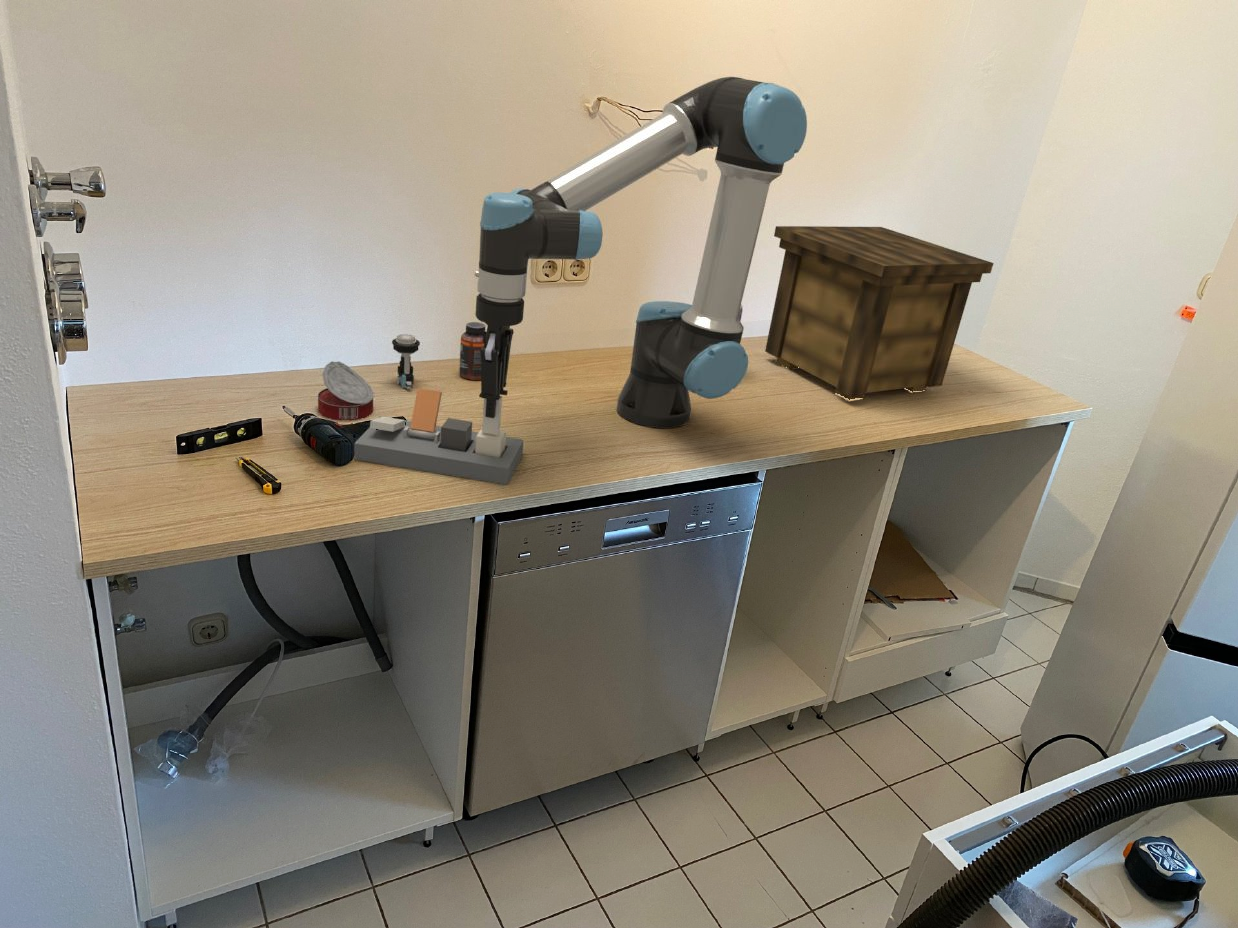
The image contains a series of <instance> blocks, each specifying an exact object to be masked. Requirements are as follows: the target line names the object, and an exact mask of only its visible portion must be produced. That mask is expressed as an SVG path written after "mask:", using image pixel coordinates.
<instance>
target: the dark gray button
mask: <svg viewBox="0 0 1238 928" xmlns="http://www.w3.org/2000/svg"><path fill="white" fill-rule="evenodd" d="M441 426H442V427H441V444H440V448H444V449H451V450H457V451H463V452H466V450H467V449H468V447H469V446H470V444H471V437H472V431H473V421H470V420H464V419H457V418H452V417H447V419H446V420H445V422H444V423H443V424H442V425H441Z"/></svg>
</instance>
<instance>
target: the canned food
mask: <svg viewBox="0 0 1238 928" xmlns="http://www.w3.org/2000/svg"><path fill="white" fill-rule="evenodd" d="M322 380H323V384H324V385H325V387H326V388H324V389H322V390H321V391H319V392H318V394H317V409H318V413H319V415H321V416H323V417H324V418H326V419H330V420H334V421H335V420H336V421H342V420H349V421H358V419H359V420H363V419H365V418H368V417H370V416H371V415H372V414H373V413H374V391H373V390H372V387H371V385H369V384H368V383H367V381H366V380H365V379H364V378H363V377H362V376H360V375H359V374H358V373H357V372H356V371H355V370H353V369H352V368H350V367H349V366H348V365H347V364H345V363H343V362H341V361H333V360H332V361H330V362H329V363H327V364H326V365H325V367H324V369H323V371H322ZM369 415H370V416H369ZM367 416H368V417H367ZM362 418H363V419H362ZM349 421H348V422H349Z"/></svg>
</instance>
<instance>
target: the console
mask: <svg viewBox="0 0 1238 928" xmlns="http://www.w3.org/2000/svg"><path fill="white" fill-rule="evenodd" d="M380 417H381V416H379V417H378V418H380ZM405 422H406V425H405V426H404V427H403V428H401V429H398V430H396V431H394V432H392V431H386V430H380V429H378V430H376V429H374V428H370V427H368V428H367V430H366V431H365V432H364V433H363V434H362V435H361V436H359V438H358V439H357V440H356V441H355V442H354V451H353V452H354V461H362V462H368V463H373V464H379V465H385V466H391V467H396V468H397V467H398V468H402V469H403V468H404V469H407V470H408V469H410V470H415V471H422V472H427V473H432V474H433V473H434V474H439V475H447V476H451V477H458V478H464V479H471V480H474V481H475V480H477V481H481V480H482V481H483V482H489V483H495V484H501V485H508V484H509V482H510V480H511V478H512V477H513V474H514V472H515V470H516V468H517V467H518V465H519V463H520V461H521V459H522V457H523V455H524V454H523V453H524V442H525V440H524V439H521V438H517V437H516V438H514V437H510V436H509V437H508V436H506V445H505V452H504V454H503V456H502V458H500V457H494V456H487V455H481V454H475V447H476V436H477V434H478V433H479V431H473V430H472V437H471V444H470V446H469V447H468V449H467V450H466V452H463V451H457V450H451V449H444V448H440V444H441V427H442V426H443V425H436V428H435V437H434V439H428V438H422V437H416V436H409V435H408V431H409V429H411V428H410V427H411V422H412V420H411V421H410V420H405Z"/></svg>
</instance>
